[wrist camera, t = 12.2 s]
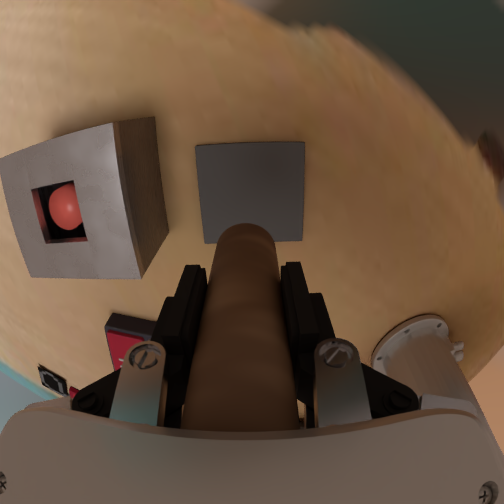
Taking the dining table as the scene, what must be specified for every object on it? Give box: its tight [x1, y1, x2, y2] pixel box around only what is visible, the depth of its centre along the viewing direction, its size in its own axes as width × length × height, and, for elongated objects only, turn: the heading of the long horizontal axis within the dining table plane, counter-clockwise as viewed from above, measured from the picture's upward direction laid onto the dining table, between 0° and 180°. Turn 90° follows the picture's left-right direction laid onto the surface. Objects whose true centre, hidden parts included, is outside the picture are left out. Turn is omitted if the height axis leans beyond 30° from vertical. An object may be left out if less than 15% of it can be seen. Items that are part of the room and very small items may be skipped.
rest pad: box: [195, 142, 305, 244], centre depth 24 cm, size 9×9×1 cm
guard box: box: [0, 117, 169, 279], centre depth 20 cm, size 12×11×8 cm
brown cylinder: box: [180, 223, 300, 432], centre depth 9 cm, size 3×3×12 cm
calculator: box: [105, 313, 157, 371], centre depth 34 cm, size 11×4×15 cm
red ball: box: [49, 180, 83, 230], centre depth 19 cm, size 3×3×3 cm
